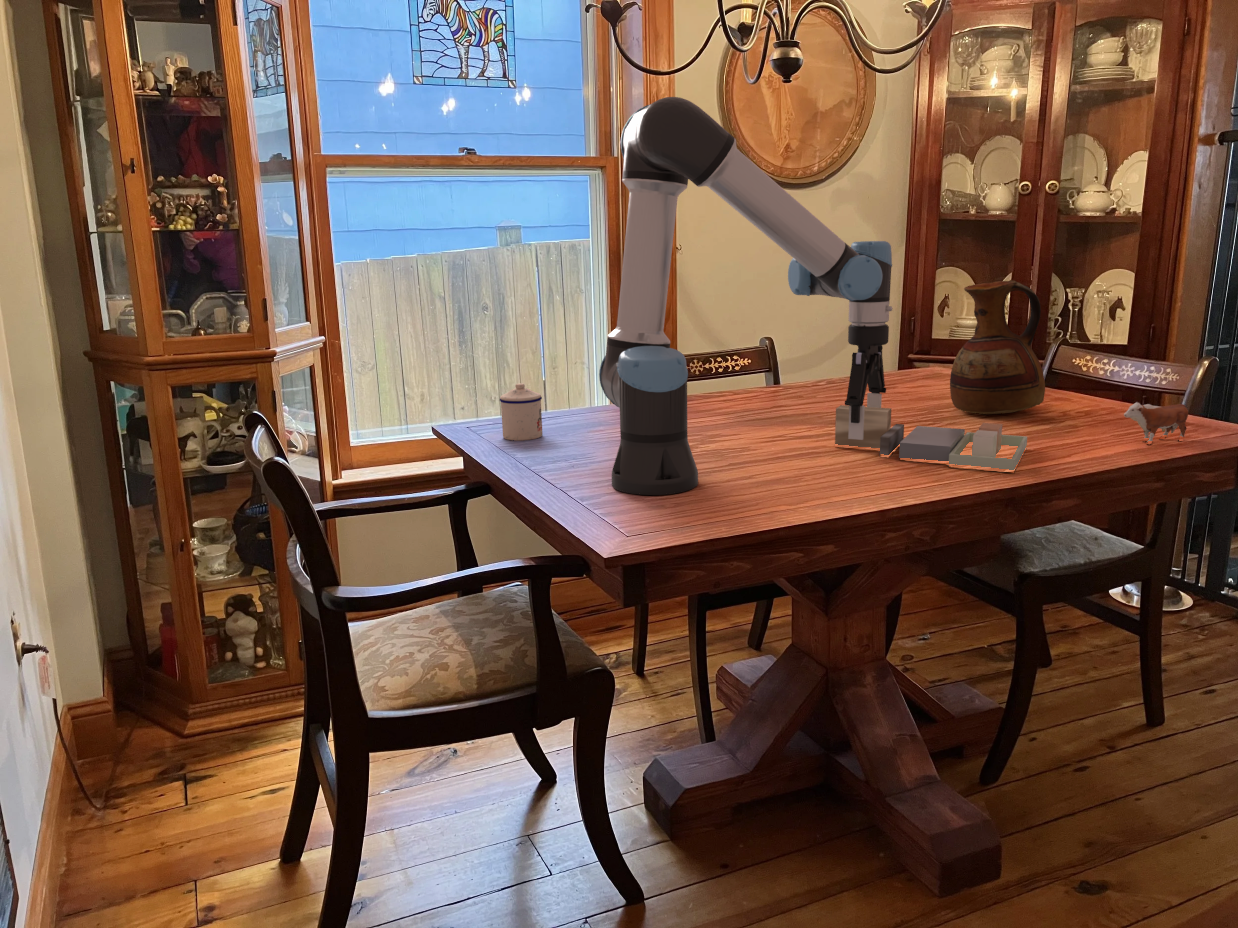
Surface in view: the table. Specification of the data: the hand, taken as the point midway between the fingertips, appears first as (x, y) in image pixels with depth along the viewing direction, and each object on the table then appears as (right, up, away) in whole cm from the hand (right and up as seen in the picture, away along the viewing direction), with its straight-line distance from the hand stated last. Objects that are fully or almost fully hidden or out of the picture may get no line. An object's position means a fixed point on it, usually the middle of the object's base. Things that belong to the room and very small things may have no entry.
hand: (864, 432), depth 187 cm
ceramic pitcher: (+38, +5, +30) cm, 49 cm away
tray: (+21, -5, -10) cm, 23 cm away
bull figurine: (+56, -2, -1) cm, 56 cm away
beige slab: (0, -3, +1) cm, 3 cm away
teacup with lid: (-70, 0, +21) cm, 73 cm away
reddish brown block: (+20, -1, -7) cm, 21 cm away
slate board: (+12, -4, -5) cm, 13 cm away
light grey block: (+17, -3, -13) cm, 21 cm away
